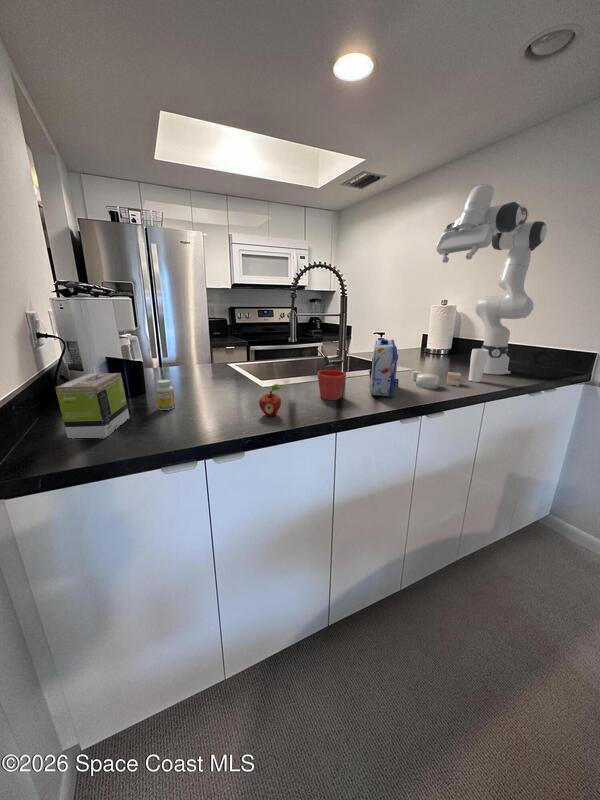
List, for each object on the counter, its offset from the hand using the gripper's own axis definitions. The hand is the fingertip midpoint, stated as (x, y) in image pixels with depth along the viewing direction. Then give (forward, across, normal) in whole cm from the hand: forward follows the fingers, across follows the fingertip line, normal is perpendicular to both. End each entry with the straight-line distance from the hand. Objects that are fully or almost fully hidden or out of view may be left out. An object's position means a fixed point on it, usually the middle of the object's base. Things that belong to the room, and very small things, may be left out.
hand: (456, 260), depth 122 cm
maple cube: (+40, +3, -34) cm, 53 cm away
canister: (+46, +7, -22) cm, 51 cm away
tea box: (+100, +28, +88) cm, 136 cm away
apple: (+80, +12, +46) cm, 93 cm away
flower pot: (+67, +16, +20) cm, 72 cm away
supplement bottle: (+91, +36, +71) cm, 121 cm away
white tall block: (+34, 0, -48) cm, 58 cm away
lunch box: (+56, +12, -1) cm, 58 cm away
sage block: (+43, +17, -28) cm, 54 cm away
